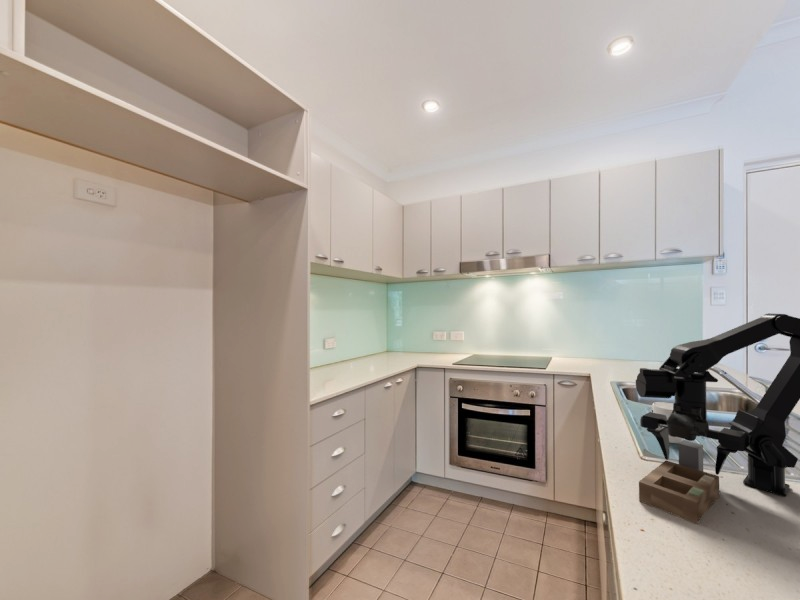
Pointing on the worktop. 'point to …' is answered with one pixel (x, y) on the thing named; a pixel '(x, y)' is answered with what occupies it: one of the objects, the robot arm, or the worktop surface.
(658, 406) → the white cup
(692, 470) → the socket block
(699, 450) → the plug
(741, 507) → the worktop surface
